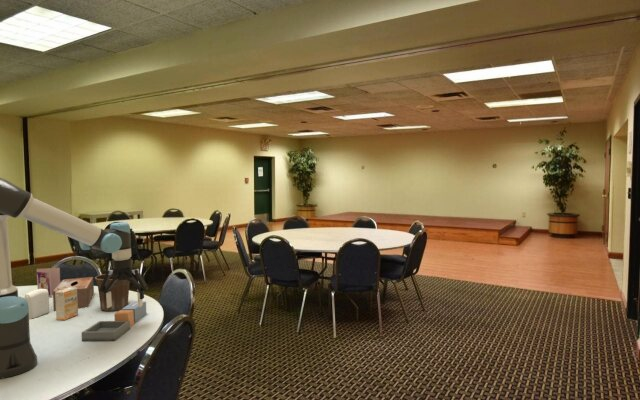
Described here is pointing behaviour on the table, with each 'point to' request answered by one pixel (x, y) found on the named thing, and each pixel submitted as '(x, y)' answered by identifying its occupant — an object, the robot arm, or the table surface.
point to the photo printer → (38, 302)
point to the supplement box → (66, 303)
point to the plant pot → (114, 293)
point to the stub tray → (106, 331)
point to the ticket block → (136, 310)
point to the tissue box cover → (78, 290)
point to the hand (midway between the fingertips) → (124, 306)
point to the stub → (125, 316)
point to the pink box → (48, 279)
